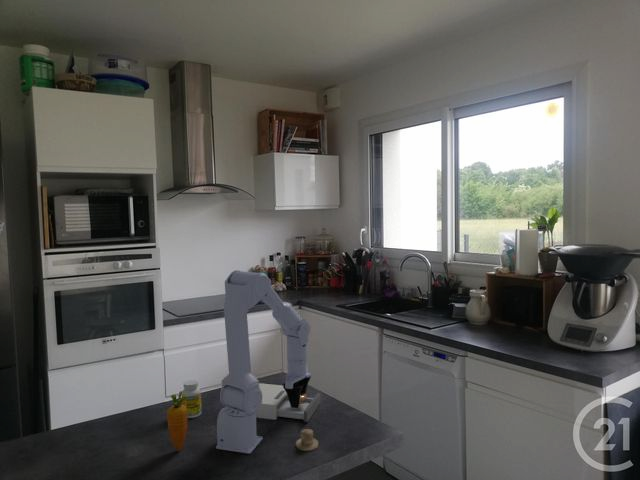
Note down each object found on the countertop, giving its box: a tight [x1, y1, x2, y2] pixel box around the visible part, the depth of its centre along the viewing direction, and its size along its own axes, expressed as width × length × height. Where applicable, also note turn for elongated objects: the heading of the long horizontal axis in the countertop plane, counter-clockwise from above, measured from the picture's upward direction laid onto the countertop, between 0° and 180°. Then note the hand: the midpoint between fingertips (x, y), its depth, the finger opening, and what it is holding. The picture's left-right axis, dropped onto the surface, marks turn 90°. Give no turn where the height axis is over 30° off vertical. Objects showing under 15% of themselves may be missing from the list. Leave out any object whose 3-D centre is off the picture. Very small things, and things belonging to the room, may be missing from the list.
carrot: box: [166, 390, 189, 452], centre depth 117 cm, size 5×5×15 cm
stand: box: [295, 428, 319, 452], centre depth 119 cm, size 6×6×4 cm
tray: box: [277, 392, 322, 423], centre depth 139 cm, size 13×13×3 cm
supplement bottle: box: [181, 379, 203, 419], centre depth 138 cm, size 5×5×10 cm
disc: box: [299, 392, 308, 404], centre depth 139 cm, size 5×5×2 cm
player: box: [256, 382, 287, 421], centre depth 142 cm, size 14×14×4 cm
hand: (297, 403), depth 139 cm, fingers closed on disc, 5 cm apart
